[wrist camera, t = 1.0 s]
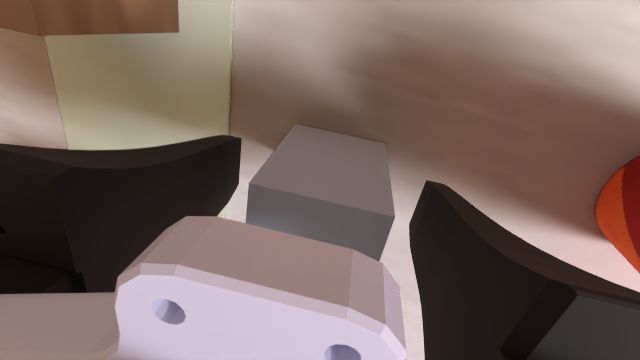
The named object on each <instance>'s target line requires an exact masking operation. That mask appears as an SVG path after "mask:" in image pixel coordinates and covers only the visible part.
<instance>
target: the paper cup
mask: <svg viewBox="0 0 640 360" xmlns="http://www.w3.org/2000/svg"><path fill="white" fill-rule="evenodd" d="M595 216H596V221H597V224H598V226H599V228H600V229H601V231H602V232H603V234H604V235H605V236H606V237H607V239H608V240H609V241H610V242H611V243H612V244H613V245H614V247H615V248H616V249H617V250H618V251H619V252H620V253H621V254H622V255H623V256H624V257H625V258H626V259H627V261H628V262H629V263H630V264H631V265H632V266H633V267H634V268H635V269H636V270H637V271H638V272H639V273H640V156H639V157H637V158H635V159H634V160H632V161H630V162H629V163H627V164H626V165H625V166H623V167H622V168H621V169H620V170H618V171H617V172H616V173H615V174H614V175H613V176H612V177H611V178H610V179H609V181H608V182H607V183H606V184H605V186H604V187H603V189H602V191H601V193H600V195H599V197H598V200H597V203H596V208H595Z"/></svg>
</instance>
